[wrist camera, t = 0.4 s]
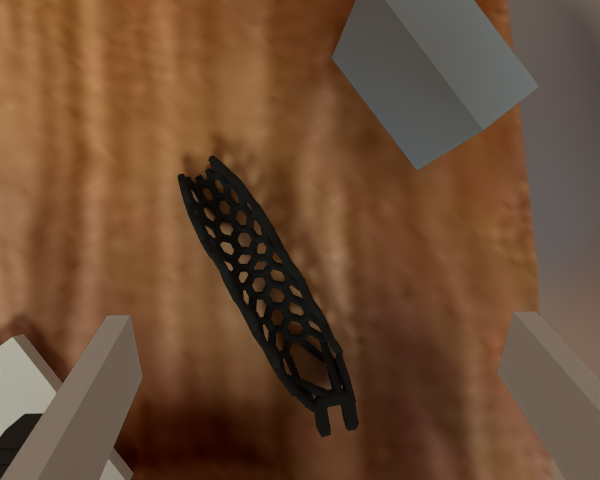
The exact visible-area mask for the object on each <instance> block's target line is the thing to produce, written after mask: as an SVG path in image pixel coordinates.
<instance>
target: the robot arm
mask: <svg viewBox="0 0 600 480" xmlns="http://www.w3.org/2000/svg"><path fill="white" fill-rule="evenodd" d="M497 374H498V375H499V377H500V379H501V380H502V382H503V383H504V385H505V386H506V388H507V389H508V391H509V392H510V394H511V396H512V397H513V399H514V400H515V402H516V403H517V405H518V406H519V408H520V409H521V411H522V412H523V414H524V416H525V417H526V419H527V420H528V422H529V423H530V425H531V426H532V428H533V429H534V431H535V433H536V434H537V436H538V437H539V439H540V440H541V442H542V443H543V445H544V446H545V448H546V449H547V451H548V453H549V454H550V456H551V457H552V459H553V460H554V462H555V463H556V465H557V466H558V468H559V469H560V471H561V473H562V474H563V476H564V477H565V479H566V480H600V380H599V379H598V377H597V376H596V375H595V374H594V373H593V372H592V371H591V370H590V369H589V368H588V367H587V366H586V365H585V364H584V363H583V362H582V360H581V359H579V357H578V356H577V355H576V354H575V353H574V352H573V351H572V350H571V349H570V348H569V347H568V346H567V345H566V344H565V342H564V341H563V340H562V339H561V338H560V337H559V336H558V335H557V334H556V333H555V332H554V331H553V330H552V329H551V328H550V327H549V326H548V325H547V323H546V322H545V321H544V320H543V319H542V318H541V317H540V316H539V315H538V314H537V313H536V312H514V313H513V317H512V320H511V324H510V327H509V331H508V334H507V338H506V342H505V345H504V349H503V352H502V356H501V359H500V363H499V366H498V370H497ZM142 378H143V377H142V372H141V367H140V362H139V357H138V352H137V346H136V341H135V336H134V331H133V326H132V320H131V315H107V317H106V318H105V320H104V321H103V323H102V324H101V326H100V327H99V329H98V330H97V332H96V333H95V335H94V337H93V338H92V340H91V341H90V343H89V344H88V346H87V347H86V349H85V350H84V352H83V353H82V355H81V357H80V358H79V360H78V361H77V363H76V364H75V366H74V367H73V369H72V370H71V372H70V373H69V375H68V377H67V378H66V380H65V381H64V383H63V384H62V386H61V387H60V389H59V390H58V392H57V393H56V395H55V396H54V398H53V400H52V401H51V403H50V404H49V406H48V407H47V409H46V410H45V412H44V413H33V414H24V415H23V416H21V417H20V418H19V419H18V420H17V421H15V422H14V423H13V424H12V425H11V426H9V427H8V428H7V429H6V430H5V431H4V432H3V434H2V435H1V436H0V480H100V477H101V475H102V473H103V470H104V468H105V466H106V463H107V461H108V459H109V456H110V454H111V451H112V449H113V447H114V444H115V442H116V440H117V437H118V435H119V433H120V430H121V428H122V425H123V423H124V421H125V418H126V416H127V414H128V411H129V409H130V407H131V404H132V402H133V399H134V397H135V395H136V392H137V390H138V388H139V385H140V383H141V381H142Z"/></svg>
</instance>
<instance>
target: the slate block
mask: <svg viewBox="0 0 600 480" xmlns="http://www.w3.org/2000/svg"><path fill="white" fill-rule="evenodd" d="M332 59H333V61H334V62H335V63H336V65H337V66H338V67H339V69H340V70H341V71H342V73H343V74H344V75H345V77H346V78H347V79H348V81H349V82H350V83H351V84H352V86H353V87H354V88H355V90H356V91H357V92H358V94H359V95H360V96H361V98H362V99H363V100H364V102H365V103H366V104H367V106H368V107H369V108H370V109H371V111H372V112H373V113H374V115H375V116H376V117H377V119H378V120H379V121H380V123H381V124H382V125H383V127H384V128H385V129H386V131H387V132H388V133H389V134H390V136H391V137H392V138H393V140H394V141H395V142H396V144H397V145H398V146H399V148H400V149H401V150H402V152H403V153H404V154H405V156H406V157H407V158H408V159H409V161H410V162H411V163H412V165H413V166H414V167H415V169H416V170H418V169H420V168H422V167H423V166H425V165H427V164H428V163H430V162H432V161H433V160H435V159H437V158H438V157H440V156H442V155H443V154H445V153H447V152H448V151H450V150H452V149H453V148H455V147H457V146H458V145H460V144H462V143H463V142H465V141H467V140H468V139H470V138H472V137H473V136H475V135H477V134H478V133H480V132H482V131H483V130H484V129H486V128H487V127H488V126H490V125H491V124H492V123H493V122H495V121H496V120H497V119H498V118H500V117H501V116H502V115H503V114H505V113H506V112H507V111H509V110H510V109H511V108H512V107H514V106H515V105H516V104H517V103H519V102H520V101H521V100H522V99H523V98H525V97H526V96H527V95H529V94H530V93H531V92H532V91H534V90H535V89H536V88H538V87H539V86H538V85H537V83H536V82H535V81H534V79H533V78H532V77H531V75H530V74H529V73H528V71H527V70H526V69H525V68H524V66H523V65H522V63H521V62H520V61H519V59H518V58H517V57H516V55H515V54H514V53H513V51H512V50H511V49H510V47H509V46H508V45H507V43H506V42H505V41H504V39H503V38H502V37H501V35H500V34H499V33H498V31H497V30H496V29H495V27H494V26H493V25H492V23H491V22H490V21H489V19H488V18H487V17H486V15H485V14H484V13H483V11H482V10H481V9H480V7H479V6H478V5H477V3H476V2H475V1H474V0H355V3H354V5H353V8H352V10H351V13H350V15H349V17H348V20H347V22H346V25H345V27H344V30H343V32H342V35H341V37H340V39H339V42H338V44H337V47H336V49H335V52H334V54H333V56H332Z"/></svg>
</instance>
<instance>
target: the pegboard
mask: <svg viewBox="0 0 600 480" xmlns="http://www.w3.org/2000/svg"><path fill="white" fill-rule="evenodd" d="M62 384H63V383H62V382H61V380H60V379H59V378H58V377H57V375H56V374H55V373H54V372H53V370H52V369H51V368H50V366H49V365H48V364H47V363H46V361H45V360H44V359H43V358H42V356H41V355H40V354H39V352H38V351H37V350H36V349H35V347H34V346H33V345H32V344H31V342H30V341H29V340H28V339H27V337H26V336H25V335H24V334H21V335H17V336H14V337H12V338H10V339H9V340H7V341H6V342H5V343H3V344H2V345H0V436H1V435H2V434H3V432H4V431H5V430H6V429H7V428H8V427H9V426H11V425H12V424H13V423H14V422H15V421H17V420H18V419H19V418H20V417H21V416H23V415H24V414H33V413H44V412H45V410H46V409H47V407H48V406H49V404H50V403H51V401H52V400H53V398H54V396H55V395H56V393H57V392H58V390H59V389H60V387H61V386H62ZM133 474H134V473H133V472H132V471H131V469H130V468H129V467H128V466H127V464H126V463H125V462H124V460H123V459H122V458H121V457H120V455H119V454H118V453H117V452H116V450H115V449H114V448H113V449H112V451H111V454H110V456H109V459H108V461H107V463H106V466H105V468H104V470H103V473H102V475H101V477H100V480H130V479H131V477H132V475H133Z"/></svg>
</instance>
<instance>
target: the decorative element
mask: <svg viewBox="0 0 600 480" xmlns="http://www.w3.org/2000/svg"><path fill="white" fill-rule="evenodd" d="M208 161H209V162H210V165H211V166H212V167H213V169H214V171H213V170H212V169H211V168H209V169H207V170H206V171H205V173H206V174H207V180H205V179H203V177H202V176H201V175H199V176H197V177H196V178H195V179H196V181H197V183H196V184H195V183H194V182H193V181H192V179H191V177H185V175H184V174H179V175H178V181H179V185H180V189H181V193H182V197H183V200H184V204H185V207H186V209H187V212H188V215H189V218H190V220H191V222H192V225H193V227H194V229H195V231H196V233H197V235H198V238H199V240H200V242H201V244H202V245H203V247H204V249H205V251H206V252H207V254H208V255H209V256H210V258H211V259H212V260H213V261H214V263H215V265H216V266H217V268H218V270H219V271H220V274H221V276H222V279H223V281H224V283H225V285H226V287H227V289H228V291H229V293H230V295H231V297H232V299H233V301H234V302H235V303H236V304H237V306H238V307H239V309H240V311H241V313H242V315H243V317H244V318H245V320H246V322H247V324H248V326H249V329H250V330H251V332H252V334H253V336H254V338H255V339H256V340H257V342H258V343H259V345H260V346H261V347H262V349H263V351H264V353H265V355H266V357H267V359H268V361H269V363H270V364H271V366H272V368H273V370H274V372H275V373H276V375H277V376H278V378H279V379H280V380H281V382H282V383H283V384H284V386H285V387H286V388H287V390H288V391H289V392H290V394H291V395H292V396H295V397H297V398H298V399H299V400H300V401H301V402H302V403H303V404H304V405H305V407H306V408H308V409H309V410H310V411H312V412H314V414H315V420H316V427H317V429H318V431H319V433H320V435H321V436H322V437H324V436H328V435H330V434H331V431H330V424H329V418H328V412H327V408H328V407H331V406H336V405H341V409H342V414H343V419H344V423H345V426H346V429H347V430H348V431H350V430H355V429H357V427H358V424H359V422H358V417H357V411H356V406H355V403H356V400H355V396H354V392H353V388H352V384H351V380H350V377H349V374H348V371H347V368H346V365H345V362H344V359H343V355H342V352H343V350H342V349H341V347H340V345H339V344H338V342H337V341H336V340H335V338H334V337H333V334H332V332H331V329H330V327H329V324H328V322H327V320H326V318H325V316H324V315H323V313H322V311H321V309H320V308H319V307H318V305H317V304H316V302H315V301H314V300H313V298H312V295H311V293H310V290H309V288H308V285H307V283H306V281H305V279H304V277H303V276H302V274H301V273H300V271H299V270H298V268H297V267H296V266H295V264H294V263H293V262H292V260H291V259H290V257H289V255H288V254H287V252H286V250H285V248H284V246H283V244H282V242H281V240H280V238H279V236H278V235H277V233H276V231H275V229H274V227H273V226H272V224H271V222H270V221H269V219H268V218H267V216H266V214H265V213H264V211H263V210H262V208H261V206H260V205H259V204H258V202H257V201H256V200H255V199H254V198H253V196H252V195H251V194H250V192H249V191H248V189H247V188H246V186H245V185H244V184H243V182H242V181H241V180H240V179H239V178H238V177H237V176H236V175H235V174H234V173H232V172H231V171H230V170H229V169H228V168H227V167H226V166H225V165H224V164H223V163H222V162H221V161H219V160H218V159H217V158H216V157H214V156H210V157H209V160H208ZM224 175H225V176H226V177H225V176H224ZM215 179H217V180H219V181H220V183H221V184H222V185H223V188H224V193H220V192H219V191H218V190H217V188H216V186H215ZM203 187H205V188H207V189H209V190H210V192H211V194H212V195H213V200H212V201H210V200H208V199H206V198H205V196H204V194H203V192H202V191H203ZM231 189H233V190H234V192H235V193H236V194H237V195H238V199H239V203H236V202H235V200H234V199H233V198H232V195H231ZM191 190H192V191H193V192H194V193H195V194H196V197H197V199H198V201H199V202H197V201H196V200H195V199H194V197H193V194H192V191H191ZM220 200H222V201H226V202H227V203H228V205H229V206H230V213H229V215H227V214H223V213H222V212H221V210H220V208H219V203H220ZM247 202H248V204H249V205H250V206H251V210H252V211H251V210H250V208H249V207H248V204H247ZM204 207H207V208H209V209H211V210H212V211H213V213H214V215H215V217H216V218H215V220H214V222H213V221H212V220H210V219H209V218H207V216H206V214H205V212H204ZM195 211H196V212H195ZM237 211H243V213H244V214H245V216H246V217H247V218H246V225H240V224H239V222H238V221H237V219H236V216H237ZM196 213H197V214H196ZM254 220H256V221H257V222H258V224H259V225H260V227H261V234H262V235H258V234H257V233H256V231H255V230H254V228H253V227H254ZM223 221H224V222H229V223H231V225H232V227H233V232H232V234H231V236H230V235H226V234H223V233H222V231H221V229H220V224H221V223H222V222H223ZM205 226H207V227H209V228H211V229H212V230H213V232H214V234H215V236H216V237H215V238H213V237H212V236H211V235H210V234H208V232H207V229H206V227H205ZM240 233H248V234H249V236H250V238H251V239H252V240H251V243H250V246H249V247H241V245H240V243H239V242H238V240H237V239H238V237H239V235H240ZM270 238H271V239H270ZM221 242H227V243H230V244H231V245H232V247H233V249H234V252H233V254H232V255H230V254H228V253H225V252H224V251H223V249H222V247H221V246H220V244H221ZM259 243H264V244H265V246H266V247H267V249H266V252H265V254H258V253H257V246H258V244H259ZM273 253H276V254H278V256H279V257H280V259H281V261H282V262H283V264H281V263H277V262H275V261H274V260H273V258H272V255H273ZM242 254H244V255H250V256H251V259H250V261H249V262H248V263H247V264H240V263H239V261H238V259H239V257H240V256H241V255H242ZM224 261H226V262H228V263H230V264H231V265H232V267H233V270H232V271H230V270H228V267H227V265H226V264H225V262H224ZM263 261H266V263H267V265H266V266H265V268H264V269H263V270H255V269H254V267H255V266H256V264H257V263H258V262H263ZM273 269H274V270H277V271H281V272H282V273H283V275H284V277H285V278H286V279H285V280H284V282H280V281H276V280H273V279H272V277H271V275H270V273H271V271H272V270H273ZM240 272H247V273H248V276H247V278H246V280H245V282H243V283H241V282H240V280H239V275H240ZM261 277H263V279H264V281H265V283H266V284H265V287H264V289H263V291H262V292H255V290H254V288H253V286H252V285H253V282H254V280H255V278H261ZM290 285H292V286H293V287H295V288H296V289H297V290H299V291H300V293H301V295H302V296H303V298H304V299H303V298H300V297H298V296H295V295H293V293H292V292H291V290H290V288H289V286H290ZM272 288H276V289H280V290H282V292H283V294H284V295H285V298H284V300H283V301H282V303H281V302H273V301H272V299H271V297H270V296H269V294H270V292H271V290H272ZM243 290H246V292H247V294H248V296H249V305H248V304H247V303H246V302H245V301H244V297H243ZM257 299H262V300H263V301H264V303H265V305H266V306H267V307H266V310H265V313H264V317H261V318H260V316H259V314H258V313H257V311H256V307H257ZM291 302H292V303H295V304H297V305H299V306H301V307H302V309H303V311H304V314H303V315H302V316H301V315H297V314H294V313H291V311H290V309H289V308H288V306H289V305H290V303H291ZM273 310H281V311H282V313H283V315H284V316H285V317H284V319H283V321H282V323H281V325H275V326H274V324H273V322H272V320H271V317H272V313H273ZM309 319H310V320H311V321H313V322H314V323H315V324H316V325H317V326H319V328H320V330H321V331H322V333H321V332H319V331H318V330H316V329H314V328H312V327H311V326H310V324H309V323H308V320H309ZM290 321H294V322H297V323H300V324H301V325H302V327H303V329H304V330H303V331H302V332H301V334H300V335H295V334H291V333H290V331H289V330H288V326H289V323H290ZM264 324H265V326H266V327H267V329H268V331H269V332H268V341H267V340H266V338H265V335H264V330H263V325H264ZM280 332H281V333H282V335H283V337H284V339H285V340H284V344H283V349H282V350H281V351H279V349H278V348H277V346H276V333H280ZM308 335H311V336H313V337H314V338H316V339H318V340H319V342H320V345H321V349H322V352H320V351H319V350H318V349H317V348H315V347H314V346H313V345H311V344H310V343H309V342H308V341H307V340H306V338H307V337H308ZM291 342H299V343H300V344H301V346H303V347H304V348H305V349H307V350H308V351H309V352H311V353H312V354H313V355H314V356H316V357H317V358H318V359H320V360H321V361H322V362H324V363H325V364H326V368H327V371H328V375H329V378H330V382H331V386H332V389H331V390H326V389H324V388H322V387H319V386H317V385H314V384H312V383H309V382H307V381H304V380H303V379H301V378H300V376H299V373H298V371H297V368H296V366H295V363H294V361H293V358H292V356H291V354H290V347H291ZM327 342H328V343H329V345H330V347H331V349H332V351H333V352H334V353H336V357H335V359H334V357H333V355H332V353H331V350H330V348H329V345H328V343H327ZM283 358H285V360H286V362H287V365H288V367H289V370H290V372H291V374H292V375H289V374H287V373H286V370H285V368H284V363H283ZM341 385H342V387H343V389H342V388H341ZM312 394H313V395H316V397H315V399H314V398H313V396H312Z"/></svg>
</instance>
